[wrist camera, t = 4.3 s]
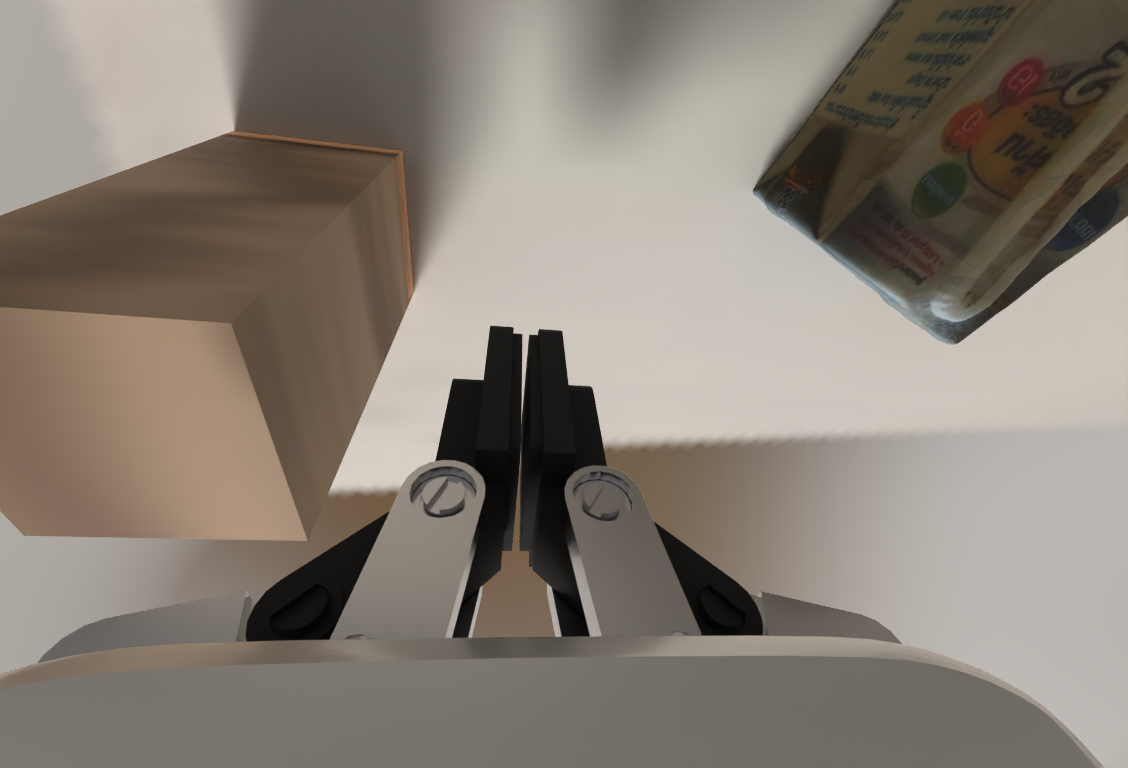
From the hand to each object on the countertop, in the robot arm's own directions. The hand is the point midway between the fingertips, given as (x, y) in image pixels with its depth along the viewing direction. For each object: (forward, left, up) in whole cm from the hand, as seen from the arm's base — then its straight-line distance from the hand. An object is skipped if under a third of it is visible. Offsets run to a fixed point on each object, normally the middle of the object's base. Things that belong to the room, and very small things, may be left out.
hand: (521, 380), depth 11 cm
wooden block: (+7, 0, -9) cm, 12 cm away
